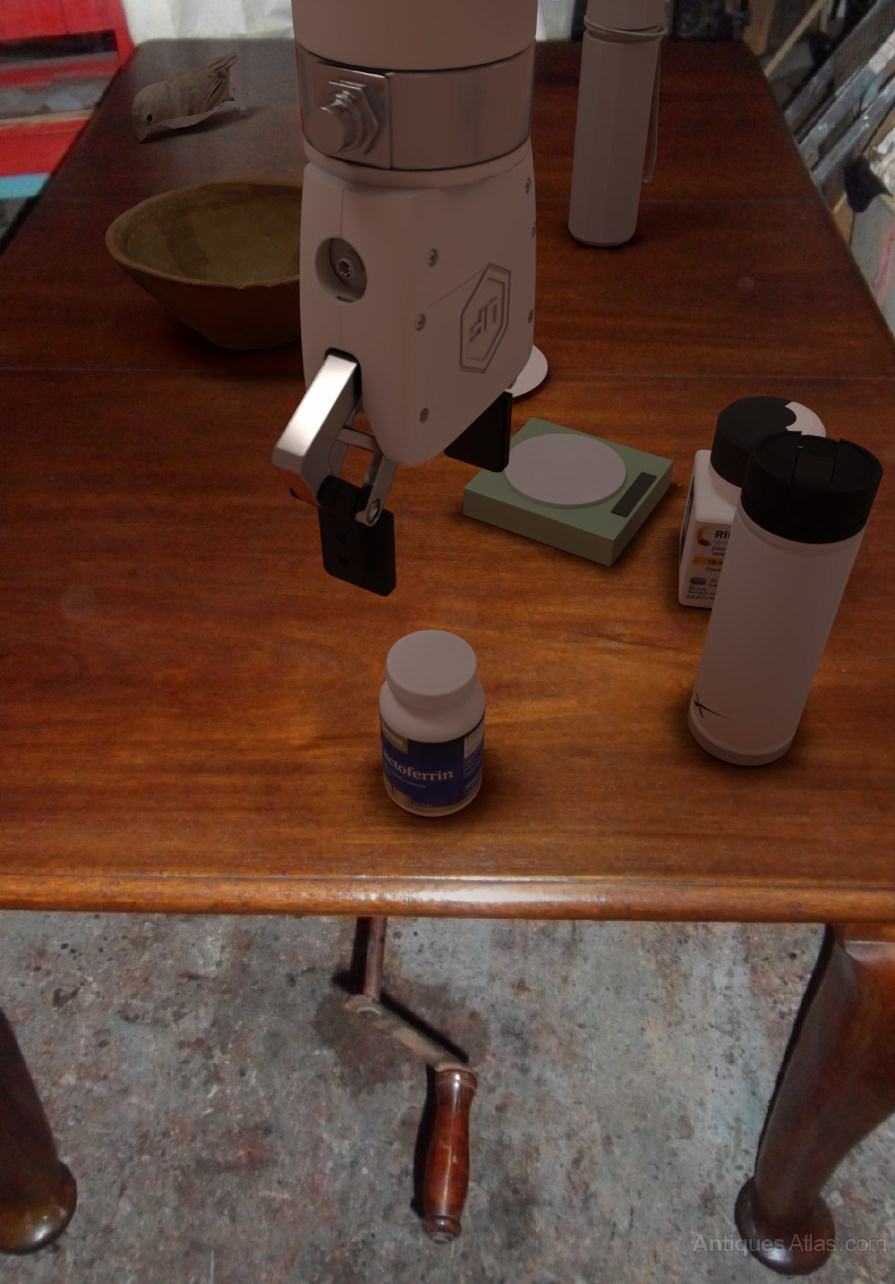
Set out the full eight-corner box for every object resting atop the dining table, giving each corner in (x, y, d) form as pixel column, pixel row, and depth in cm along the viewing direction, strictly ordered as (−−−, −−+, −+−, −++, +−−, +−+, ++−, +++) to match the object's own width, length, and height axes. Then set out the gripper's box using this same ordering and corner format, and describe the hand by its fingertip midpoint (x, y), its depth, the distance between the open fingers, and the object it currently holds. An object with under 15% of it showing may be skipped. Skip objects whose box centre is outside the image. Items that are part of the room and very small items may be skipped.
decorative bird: (127, 137, 135) (114, 74, 130) (232, 108, 143) (224, 47, 138) (150, 149, 132) (137, 84, 127) (255, 119, 140) (248, 57, 135)
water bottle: (589, 256, 110) (615, -21, 93) (553, 227, 115) (572, -40, 98) (664, 241, 113) (704, -31, 95) (626, 213, 118) (657, -50, 101)
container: (677, 607, 72) (710, 444, 63) (679, 536, 77) (709, 377, 68) (795, 619, 71) (845, 456, 62) (788, 547, 76) (833, 387, 67)
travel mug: (676, 755, 63) (741, 475, 49) (697, 679, 67) (762, 403, 53) (784, 784, 61) (883, 504, 47) (798, 704, 65) (892, 426, 51)
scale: (669, 487, 82) (675, 456, 80) (610, 567, 75) (614, 535, 73) (530, 442, 86) (532, 411, 84) (462, 514, 79) (463, 483, 77)
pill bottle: (367, 802, 60) (356, 682, 53) (406, 731, 64) (401, 610, 57) (461, 833, 59) (463, 713, 52) (496, 758, 62) (502, 637, 55)
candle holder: (530, 333, 99) (532, 289, 96) (561, 401, 90) (565, 356, 87) (402, 344, 97) (400, 300, 94) (422, 415, 89) (421, 369, 86)
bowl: (240, 423, 88) (222, 311, 81) (83, 332, 99) (55, 226, 92) (422, 327, 100) (419, 222, 93) (263, 255, 111) (250, 156, 104)
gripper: (368, 220, 28) (388, 673, 40) (628, 47, 38) (582, 445, 50) (146, 163, 30) (229, 604, 42) (448, 16, 41) (445, 402, 53)
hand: (421, 517), depth 46 cm, fingers open, 9 cm apart
